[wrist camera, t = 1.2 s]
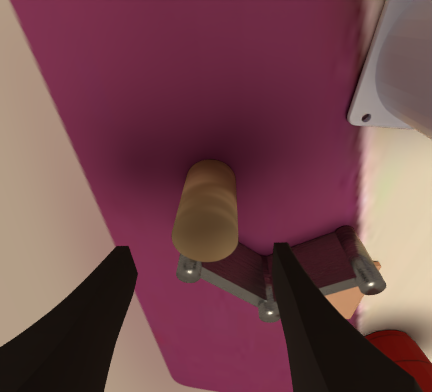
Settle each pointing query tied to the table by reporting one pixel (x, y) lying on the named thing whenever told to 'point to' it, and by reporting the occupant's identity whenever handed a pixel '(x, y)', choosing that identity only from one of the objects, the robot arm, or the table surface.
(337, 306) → the coaster
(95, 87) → the table surface
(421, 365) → the plastic cup
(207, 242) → the oak dowel
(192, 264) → the bent rail
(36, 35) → the table surface
